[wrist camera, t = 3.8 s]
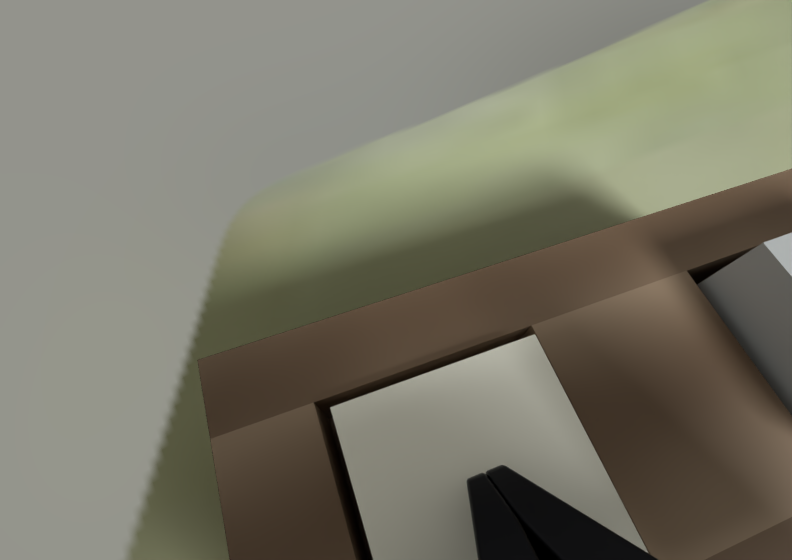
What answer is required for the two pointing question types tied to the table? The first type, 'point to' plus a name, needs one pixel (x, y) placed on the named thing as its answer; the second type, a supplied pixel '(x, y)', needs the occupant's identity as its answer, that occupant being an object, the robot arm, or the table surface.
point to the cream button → (467, 451)
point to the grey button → (759, 309)
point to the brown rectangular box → (573, 365)
